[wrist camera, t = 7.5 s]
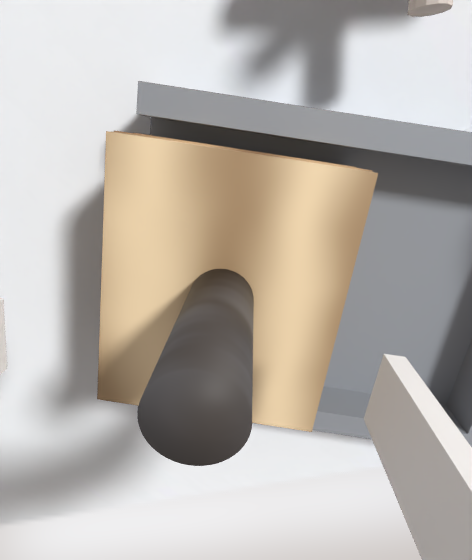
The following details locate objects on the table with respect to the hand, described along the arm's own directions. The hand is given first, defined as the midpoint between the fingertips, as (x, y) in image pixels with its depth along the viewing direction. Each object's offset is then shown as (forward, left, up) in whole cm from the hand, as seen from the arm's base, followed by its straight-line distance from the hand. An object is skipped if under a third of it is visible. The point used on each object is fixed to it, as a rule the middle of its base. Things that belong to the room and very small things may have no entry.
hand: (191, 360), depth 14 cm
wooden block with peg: (+1, 0, -12) cm, 12 cm away
